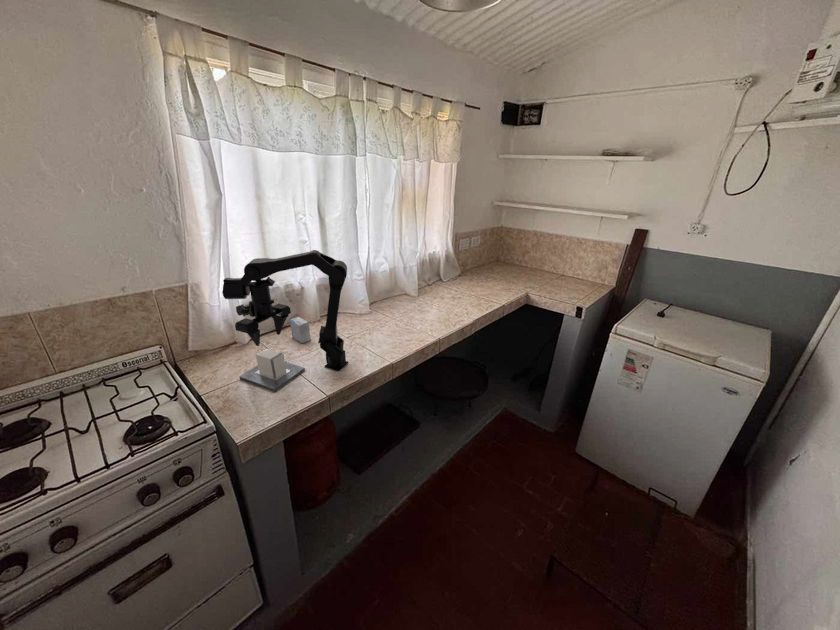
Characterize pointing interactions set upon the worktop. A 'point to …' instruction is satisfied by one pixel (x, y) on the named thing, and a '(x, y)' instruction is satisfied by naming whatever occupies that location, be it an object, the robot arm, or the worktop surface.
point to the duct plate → (270, 381)
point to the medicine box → (300, 330)
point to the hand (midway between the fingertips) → (268, 339)
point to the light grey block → (271, 362)
